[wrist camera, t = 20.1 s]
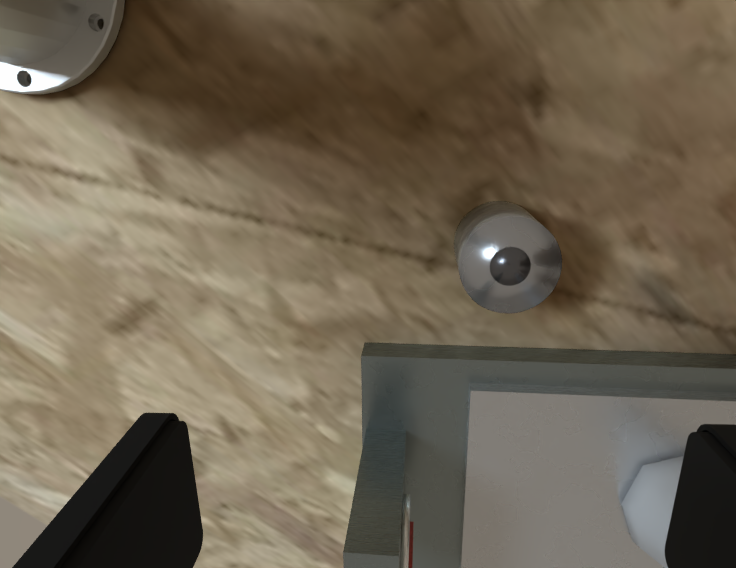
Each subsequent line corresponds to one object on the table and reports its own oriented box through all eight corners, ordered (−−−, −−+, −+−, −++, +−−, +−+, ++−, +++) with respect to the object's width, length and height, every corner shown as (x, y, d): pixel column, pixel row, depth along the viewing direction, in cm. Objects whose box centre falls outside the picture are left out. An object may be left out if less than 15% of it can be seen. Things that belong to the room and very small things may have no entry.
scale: (364, 342, 34) (334, 457, 22) (765, 355, 31) (963, 491, 20) (367, 555, 39) (343, 737, 27) (712, 580, 36) (845, 791, 25)
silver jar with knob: (452, 283, 32) (457, 312, 27) (455, 200, 30) (461, 216, 26) (536, 284, 31) (557, 314, 27) (544, 201, 30) (567, 217, 25)
